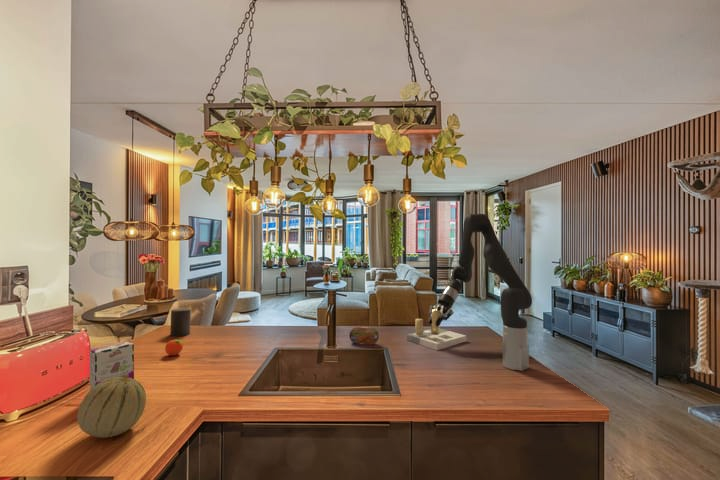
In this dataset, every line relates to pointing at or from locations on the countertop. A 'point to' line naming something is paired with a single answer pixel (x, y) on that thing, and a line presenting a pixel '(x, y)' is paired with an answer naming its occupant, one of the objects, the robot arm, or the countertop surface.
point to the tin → (364, 335)
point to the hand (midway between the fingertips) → (433, 324)
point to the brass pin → (434, 318)
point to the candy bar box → (111, 362)
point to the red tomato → (173, 347)
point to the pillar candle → (180, 321)
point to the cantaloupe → (112, 407)
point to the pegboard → (434, 337)
